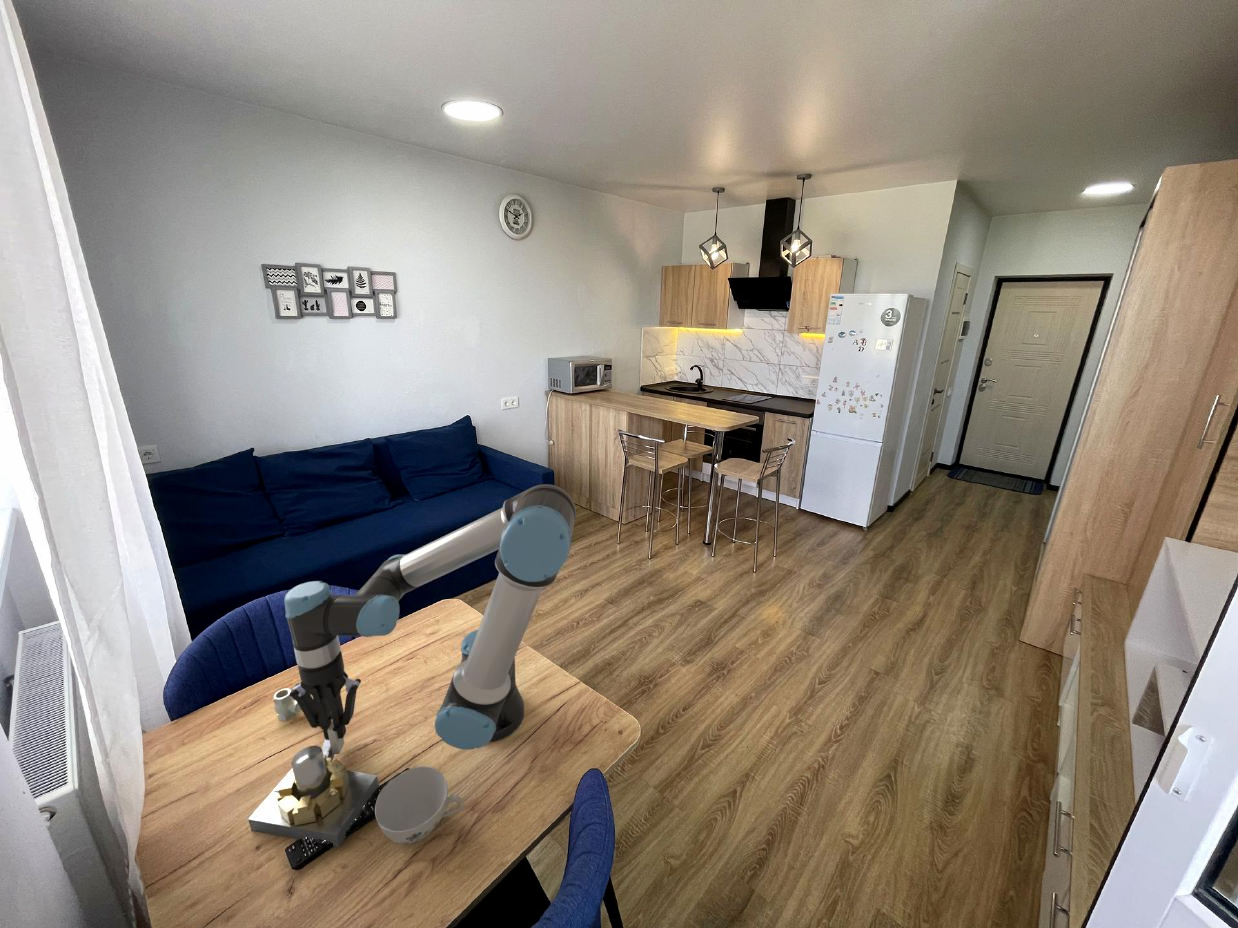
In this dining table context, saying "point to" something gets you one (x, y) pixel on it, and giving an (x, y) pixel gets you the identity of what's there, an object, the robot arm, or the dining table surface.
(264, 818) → the plate
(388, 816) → the teacup
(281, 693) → the valve
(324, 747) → the grey bar gold ring
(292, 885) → the dining table surface
